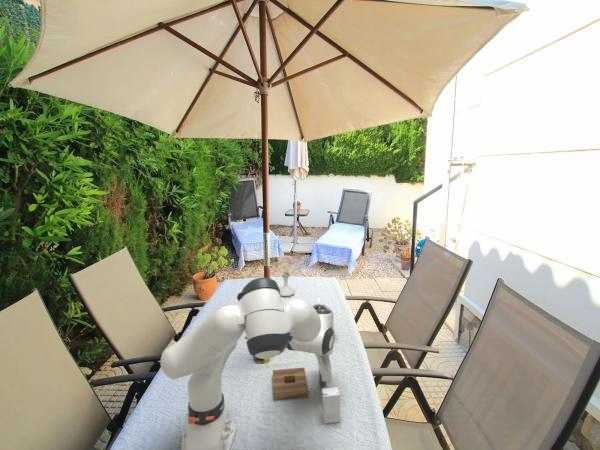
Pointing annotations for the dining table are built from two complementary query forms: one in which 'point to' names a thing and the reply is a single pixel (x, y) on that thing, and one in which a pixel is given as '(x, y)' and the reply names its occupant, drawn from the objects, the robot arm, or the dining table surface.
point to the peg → (321, 381)
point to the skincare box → (331, 405)
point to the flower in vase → (285, 281)
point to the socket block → (289, 384)
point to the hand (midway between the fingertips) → (322, 375)
